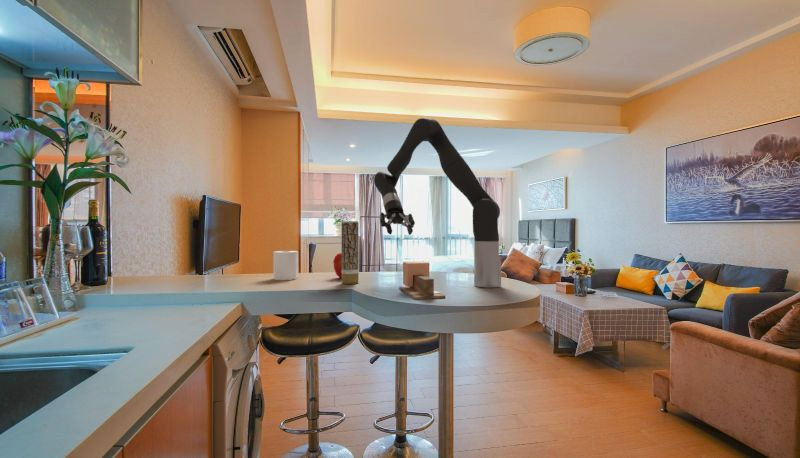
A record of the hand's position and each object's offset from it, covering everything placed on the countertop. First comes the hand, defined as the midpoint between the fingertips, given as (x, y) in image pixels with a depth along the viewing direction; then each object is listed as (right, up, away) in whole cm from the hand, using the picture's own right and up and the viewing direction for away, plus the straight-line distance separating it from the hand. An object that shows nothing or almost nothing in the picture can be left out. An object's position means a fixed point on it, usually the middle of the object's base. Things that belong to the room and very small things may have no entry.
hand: (400, 233), depth 142 cm
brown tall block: (-21, -20, 0) cm, 29 cm away
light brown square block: (+5, -18, -17) cm, 25 cm away
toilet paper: (-51, -20, +13) cm, 56 cm away
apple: (-25, -20, +15) cm, 36 cm away
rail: (+7, -20, -22) cm, 31 cm away
